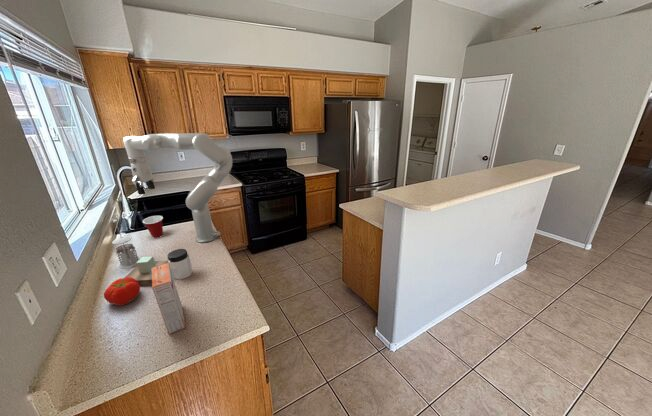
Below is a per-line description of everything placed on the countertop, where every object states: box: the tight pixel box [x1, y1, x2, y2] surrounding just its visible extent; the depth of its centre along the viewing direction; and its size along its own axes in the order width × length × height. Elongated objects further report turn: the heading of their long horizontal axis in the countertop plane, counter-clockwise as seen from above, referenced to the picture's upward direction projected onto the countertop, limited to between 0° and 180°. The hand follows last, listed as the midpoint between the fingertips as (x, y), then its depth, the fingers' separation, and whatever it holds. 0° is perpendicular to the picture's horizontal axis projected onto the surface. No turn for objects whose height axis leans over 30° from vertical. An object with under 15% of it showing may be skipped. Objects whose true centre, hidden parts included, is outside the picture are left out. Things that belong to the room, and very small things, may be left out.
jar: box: [167, 248, 193, 280], centre depth 124 cm, size 9×8×12 cm
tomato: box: [103, 276, 141, 306], centre depth 109 cm, size 13×12×8 cm
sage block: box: [136, 256, 156, 274], centre depth 124 cm, size 5×5×6 cm
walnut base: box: [123, 259, 169, 287], centre depth 126 cm, size 16×16×3 cm
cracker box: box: [151, 263, 186, 335], centre depth 95 cm, size 14×6×21 cm, turn 32°
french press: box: [111, 219, 141, 269], centre depth 132 cm, size 10×12×25 cm
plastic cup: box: [142, 215, 164, 239], centre depth 164 cm, size 11×11×12 cm
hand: (147, 191), depth 143 cm, fingers open, 9 cm apart
